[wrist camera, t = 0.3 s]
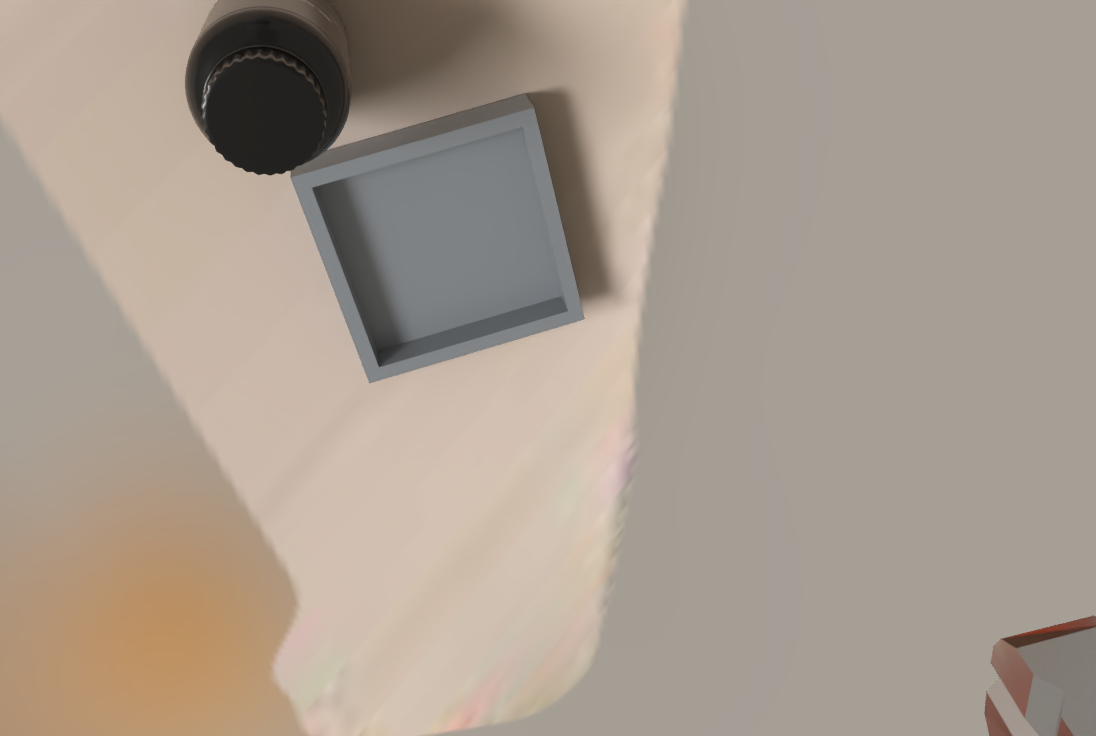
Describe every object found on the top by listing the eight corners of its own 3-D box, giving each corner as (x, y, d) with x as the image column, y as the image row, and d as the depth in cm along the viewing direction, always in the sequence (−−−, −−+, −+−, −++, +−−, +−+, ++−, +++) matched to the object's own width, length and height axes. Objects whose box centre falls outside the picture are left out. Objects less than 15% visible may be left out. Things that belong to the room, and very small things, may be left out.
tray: (291, 160, 54) (290, 177, 52) (525, 93, 55) (534, 107, 53) (367, 361, 61) (369, 383, 59) (575, 299, 61) (584, 319, 59)
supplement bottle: (331, -40, 50) (335, 16, 40) (360, 101, 53) (371, 185, 43) (184, -17, 49) (151, 46, 39) (224, 124, 53) (203, 215, 42)
